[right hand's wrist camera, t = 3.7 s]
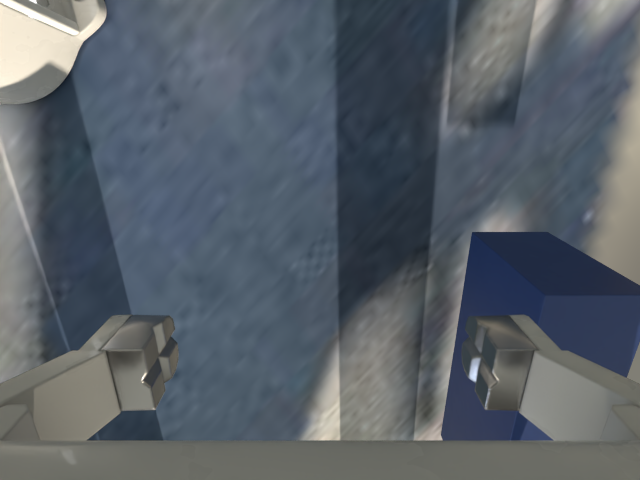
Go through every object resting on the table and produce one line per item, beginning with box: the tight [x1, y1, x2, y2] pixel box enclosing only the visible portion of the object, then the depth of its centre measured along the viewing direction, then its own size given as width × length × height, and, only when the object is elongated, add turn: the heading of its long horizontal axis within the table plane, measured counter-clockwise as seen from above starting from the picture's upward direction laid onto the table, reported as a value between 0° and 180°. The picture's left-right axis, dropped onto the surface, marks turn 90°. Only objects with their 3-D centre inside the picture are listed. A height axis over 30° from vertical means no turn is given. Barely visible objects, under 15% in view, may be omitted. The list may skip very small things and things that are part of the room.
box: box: [441, 232, 640, 441], centre depth 28 cm, size 22×6×10 cm, turn 0°
